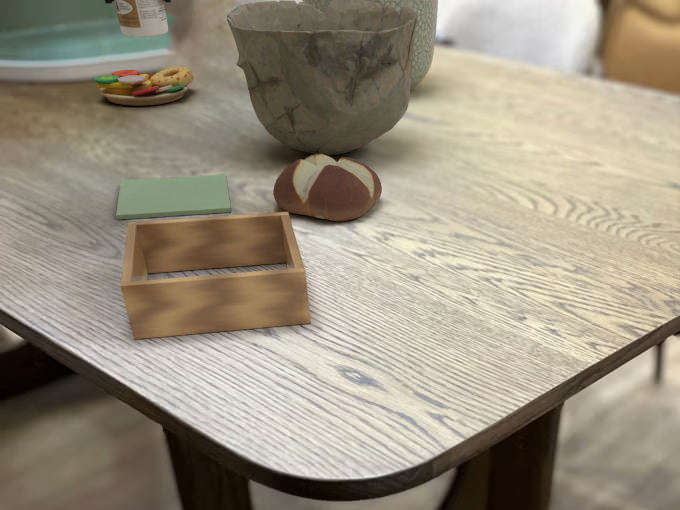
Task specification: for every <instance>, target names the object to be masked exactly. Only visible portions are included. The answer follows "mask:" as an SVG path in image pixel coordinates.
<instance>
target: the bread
mask: <svg viewBox="0 0 680 510" xmlns="http://www.w3.org/2000/svg"><path fill="white" fill-rule="evenodd" d="M382 191H383V186H382V182H381V180H380V178H379V176H378V174H377V173H376V171H375V170H374V169H373V168H371V166H369V165H367V164H366V163H365V162H362V161H361V160H357V159H355V158H352V157H348V156H347V157H346V156H345V157H344V156H342V157H340V158H339V159H338V161H337V160H336V159H334V158H332V157H331V156H330V155H323V154H315V153H312V154H310V155H309V156H307V157H305V158H304V159H302V158H298V159H296V160H294V162H292V163H291V164H290V165H288V166H287V167H286V168H284V169H283V171H282V172H281V173H280V174H279V175H278V177H277V178H276V180H275V183H274V185H273V191H272V193H273V194H272V195H273V198H274V201H275V203H276V204H277V206H279V207H280V208H281V209H282V210H284V211H285V212H288V213H290V214H295V215H301V216H308V217H312V218H316V219H321V220H328V221H331V222H332V221H333V222H342V221H350V220H354V219H358V218H360V217H363V216H364V215H365V214H366V213H367V212H368V211H370V210H371V209H372V208H374V207H375V205H376V204H377V202H378V201H379V200H380V198H381V196H382Z"/></svg>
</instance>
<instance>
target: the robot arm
mask: <svg viewBox="0 0 680 510" xmlns="http://www.w3.org/2000/svg"><path fill="white" fill-rule="evenodd" d="M163 1H164V4H165V3H166V4H168V3H170V4H171V3H172V0H163ZM104 3H105V4H112V3H115V0H104Z"/></svg>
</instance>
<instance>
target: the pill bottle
mask: <svg viewBox="0 0 680 510" xmlns="http://www.w3.org/2000/svg"><path fill="white" fill-rule="evenodd" d="M114 5H115V9H116V14H117V19H118V24H119V29H120V32H121V33H122V34H123V35H125V36H127V37H133V38H150V37H151V38H152V37H158V36H163V35H166V34H168V32H169V24H168V18H167V13H166V7H165V1H163V0H114Z"/></svg>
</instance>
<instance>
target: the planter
mask: <svg viewBox="0 0 680 510" xmlns="http://www.w3.org/2000/svg"><path fill="white" fill-rule="evenodd" d="M303 1H307V2H308V3H309V4H310V5H312V6H313V7H314V8H316V9H318V10H320V11H321V12H322V13H323V12H324V8H325V7H328V6H329V4H330V3H331V2H332V1H333V0H302V2H303ZM350 1H369V2H374V3H376V4H378V5H382V6H383V7H384V8H385V10H386V8H387V6H388V5H391V6H394V7H395V8H396V11H397V12H398V14H399V15H400V10H401V8H403V7H407V8H409V9H411V10H413V11H416V13H417V15H418V22H417V27H416V33H415V39H414V45H413V47H414V49H415V52H414V53H413V58H412V72H411V84H410V92H411V91H412V90H414V89H415V88H417V86H418V85H419V84H420V83H422V81H423V80H424V79H425V78H426V76H427V75H428V74H429V71H430V69H431V66H432V63H433V60H434V54H435V45H436V35H437V33H436V32H437V25H438V12H439V11H438V9H439V0H350Z"/></svg>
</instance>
